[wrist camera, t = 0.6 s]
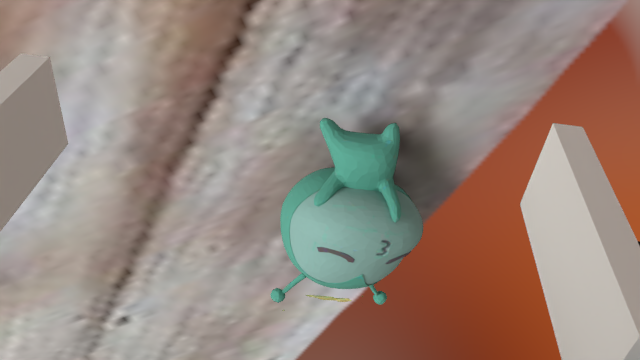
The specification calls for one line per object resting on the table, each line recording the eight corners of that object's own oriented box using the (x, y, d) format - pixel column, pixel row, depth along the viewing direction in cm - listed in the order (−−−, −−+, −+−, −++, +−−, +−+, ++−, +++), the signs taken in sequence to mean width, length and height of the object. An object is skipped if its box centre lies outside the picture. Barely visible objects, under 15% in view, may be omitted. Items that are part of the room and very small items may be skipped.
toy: (439, 144, 33) (409, 369, 37) (433, 110, 42) (409, 293, 47) (265, 127, 34) (258, 347, 39) (297, 97, 43) (288, 277, 48)
